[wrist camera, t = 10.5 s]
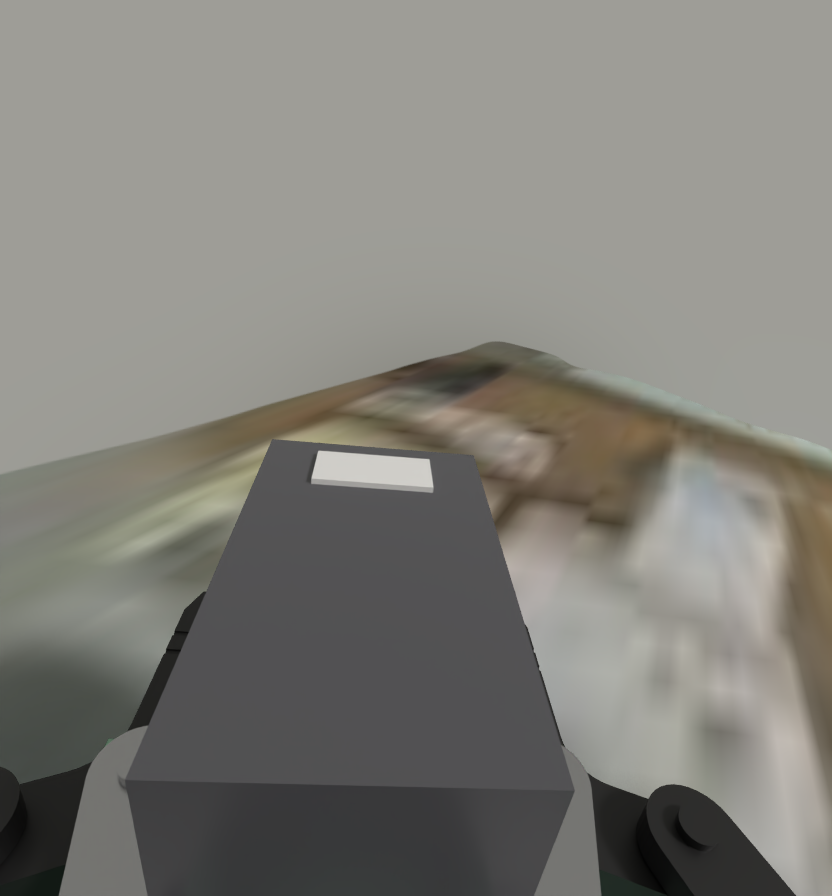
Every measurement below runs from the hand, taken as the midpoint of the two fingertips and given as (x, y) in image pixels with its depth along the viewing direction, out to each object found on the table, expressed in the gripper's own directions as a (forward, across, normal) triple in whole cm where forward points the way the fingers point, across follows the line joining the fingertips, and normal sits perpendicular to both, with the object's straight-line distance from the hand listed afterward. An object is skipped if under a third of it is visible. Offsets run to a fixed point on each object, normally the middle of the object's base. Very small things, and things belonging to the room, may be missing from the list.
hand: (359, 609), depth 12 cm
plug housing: (-3, 0, +5) cm, 6 cm away
